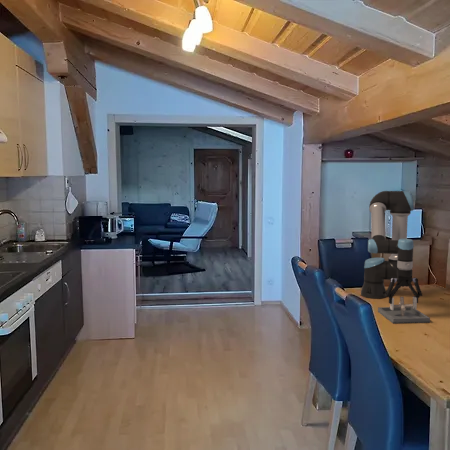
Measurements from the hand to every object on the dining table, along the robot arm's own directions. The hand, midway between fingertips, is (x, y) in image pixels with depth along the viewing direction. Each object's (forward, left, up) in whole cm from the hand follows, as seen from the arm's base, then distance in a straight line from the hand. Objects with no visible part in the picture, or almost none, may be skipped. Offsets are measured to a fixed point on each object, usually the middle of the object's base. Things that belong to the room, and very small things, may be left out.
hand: (403, 309), depth 243 cm
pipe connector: (0, 0, -4) cm, 4 cm away
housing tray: (0, 0, -4) cm, 4 cm away
